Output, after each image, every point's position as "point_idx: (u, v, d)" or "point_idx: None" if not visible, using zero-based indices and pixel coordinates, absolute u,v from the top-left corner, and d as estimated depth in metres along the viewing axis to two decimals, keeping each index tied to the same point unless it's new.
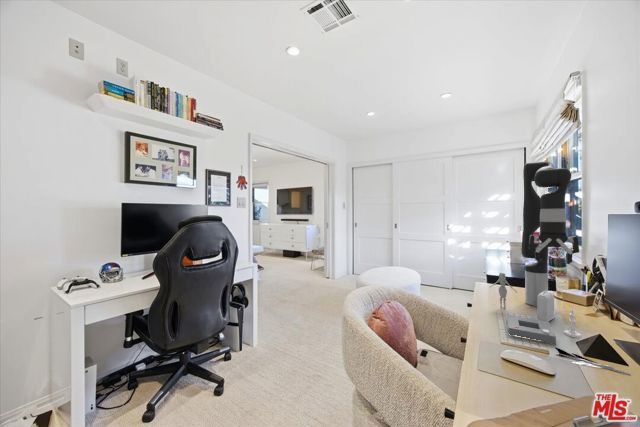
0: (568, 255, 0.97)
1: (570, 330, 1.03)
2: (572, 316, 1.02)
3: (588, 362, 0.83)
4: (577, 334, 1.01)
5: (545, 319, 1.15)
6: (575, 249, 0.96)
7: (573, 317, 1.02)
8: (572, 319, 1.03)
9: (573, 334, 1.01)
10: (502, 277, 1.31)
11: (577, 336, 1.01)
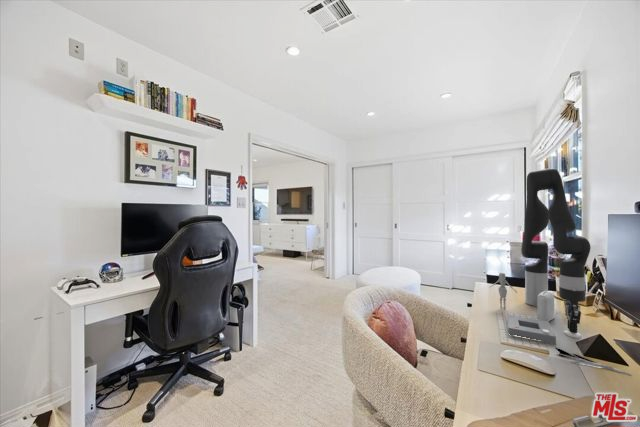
0: None
1: None
2: None
3: (588, 362, 0.83)
4: (577, 334, 1.01)
5: (545, 319, 1.15)
6: None
7: None
8: None
9: (573, 334, 1.01)
10: (502, 277, 1.31)
11: (577, 336, 1.01)
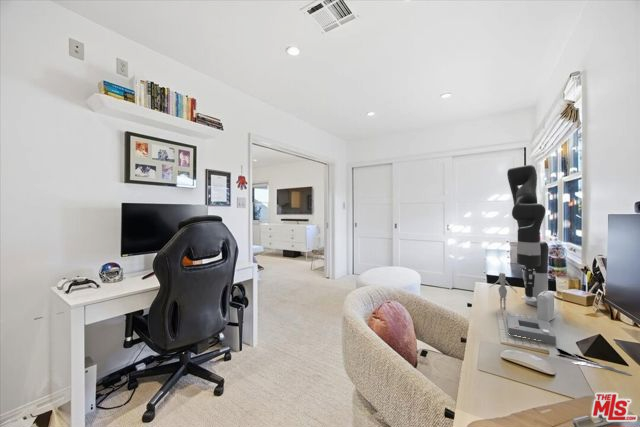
0: None
1: None
2: None
3: (589, 362, 0.83)
4: (533, 298, 1.04)
5: (545, 319, 1.15)
6: None
7: None
8: None
9: (529, 298, 1.04)
10: (502, 277, 1.31)
11: (532, 300, 1.03)
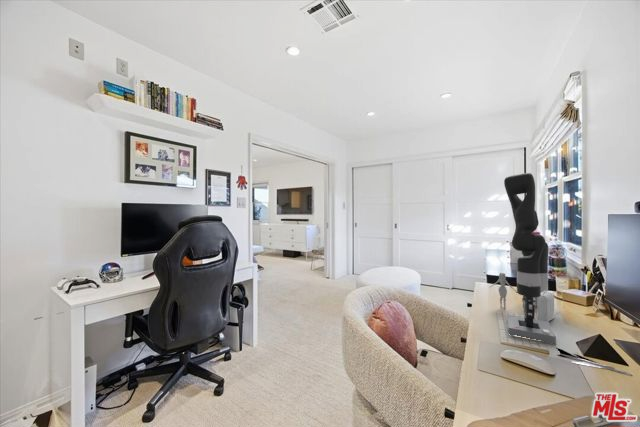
0: (531, 315, 1.07)
1: None
2: (528, 313, 1.05)
3: (589, 362, 0.83)
4: None
5: (545, 319, 1.15)
6: None
7: (529, 314, 1.05)
8: None
9: None
10: (502, 277, 1.31)
11: None
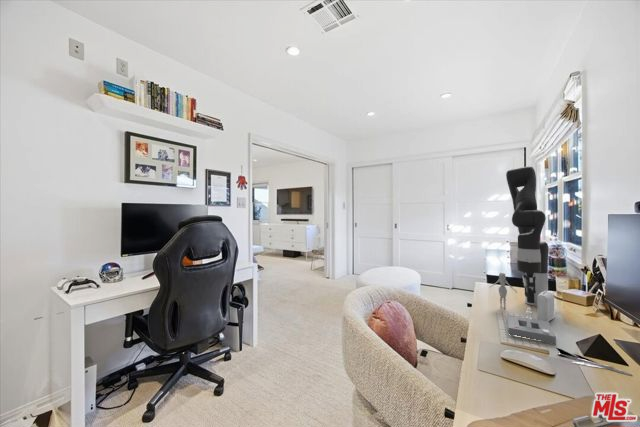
0: (531, 289, 1.09)
1: None
2: (528, 313, 1.05)
3: (589, 362, 0.83)
4: None
5: (545, 319, 1.15)
6: None
7: (529, 314, 1.05)
8: (528, 316, 1.05)
9: None
10: (502, 277, 1.31)
11: None
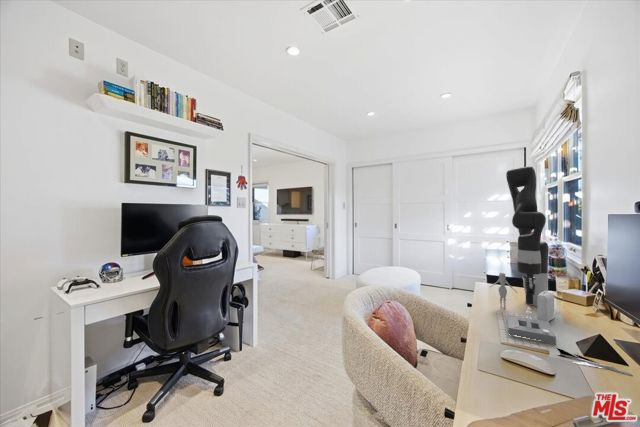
0: (532, 295, 1.06)
1: None
2: (528, 313, 1.05)
3: (590, 362, 0.83)
4: None
5: (545, 319, 1.15)
6: None
7: (529, 314, 1.05)
8: (528, 316, 1.05)
9: None
10: (502, 277, 1.31)
11: None
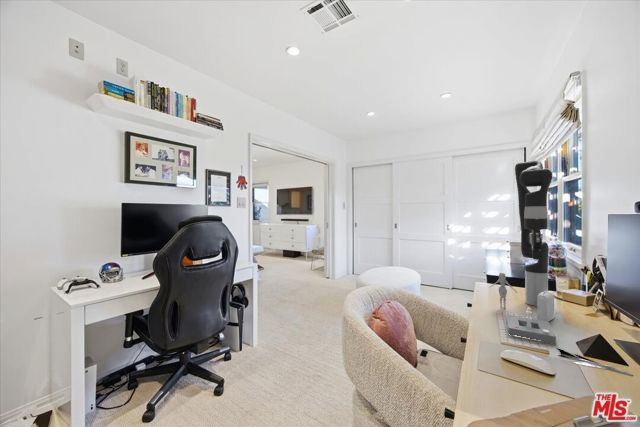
0: None
1: None
2: (528, 313, 1.05)
3: (590, 362, 0.83)
4: None
5: (545, 319, 1.15)
6: None
7: (529, 314, 1.05)
8: (528, 316, 1.05)
9: None
10: (502, 277, 1.31)
11: None
